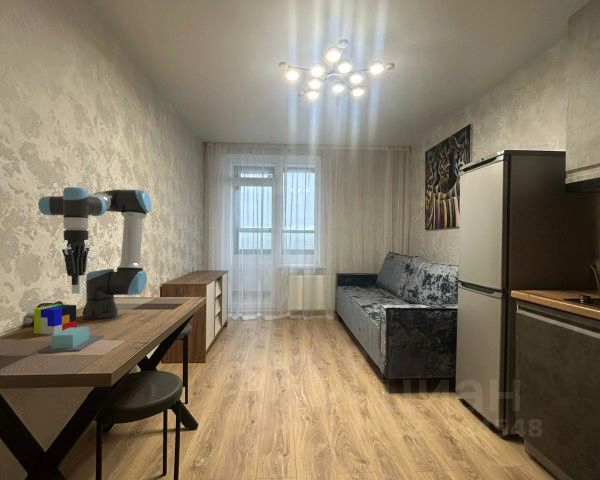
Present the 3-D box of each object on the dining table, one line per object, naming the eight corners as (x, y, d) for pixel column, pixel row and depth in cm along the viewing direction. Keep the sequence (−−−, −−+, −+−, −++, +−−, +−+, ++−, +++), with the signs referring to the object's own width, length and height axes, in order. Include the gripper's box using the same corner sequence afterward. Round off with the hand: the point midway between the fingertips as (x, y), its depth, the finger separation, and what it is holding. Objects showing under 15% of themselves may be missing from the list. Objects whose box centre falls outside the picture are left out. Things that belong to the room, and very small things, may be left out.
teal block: (69, 327, 119) (51, 335, 109) (89, 327, 119) (72, 334, 110) (69, 339, 119) (51, 348, 109) (89, 339, 119) (72, 348, 110)
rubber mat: (67, 338, 123) (67, 336, 123) (103, 336, 124) (103, 335, 124) (38, 352, 107) (38, 350, 107) (79, 351, 108) (79, 349, 108)
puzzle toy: (54, 334, 127) (54, 310, 127) (34, 333, 129) (33, 309, 129) (76, 328, 137) (76, 304, 137) (57, 326, 139) (57, 304, 139)
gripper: (75, 230, 123) (76, 290, 124) (53, 229, 111) (54, 296, 111) (96, 230, 124) (96, 290, 125) (76, 229, 111) (77, 296, 112)
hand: (76, 293), depth 118 cm, fingers closed
